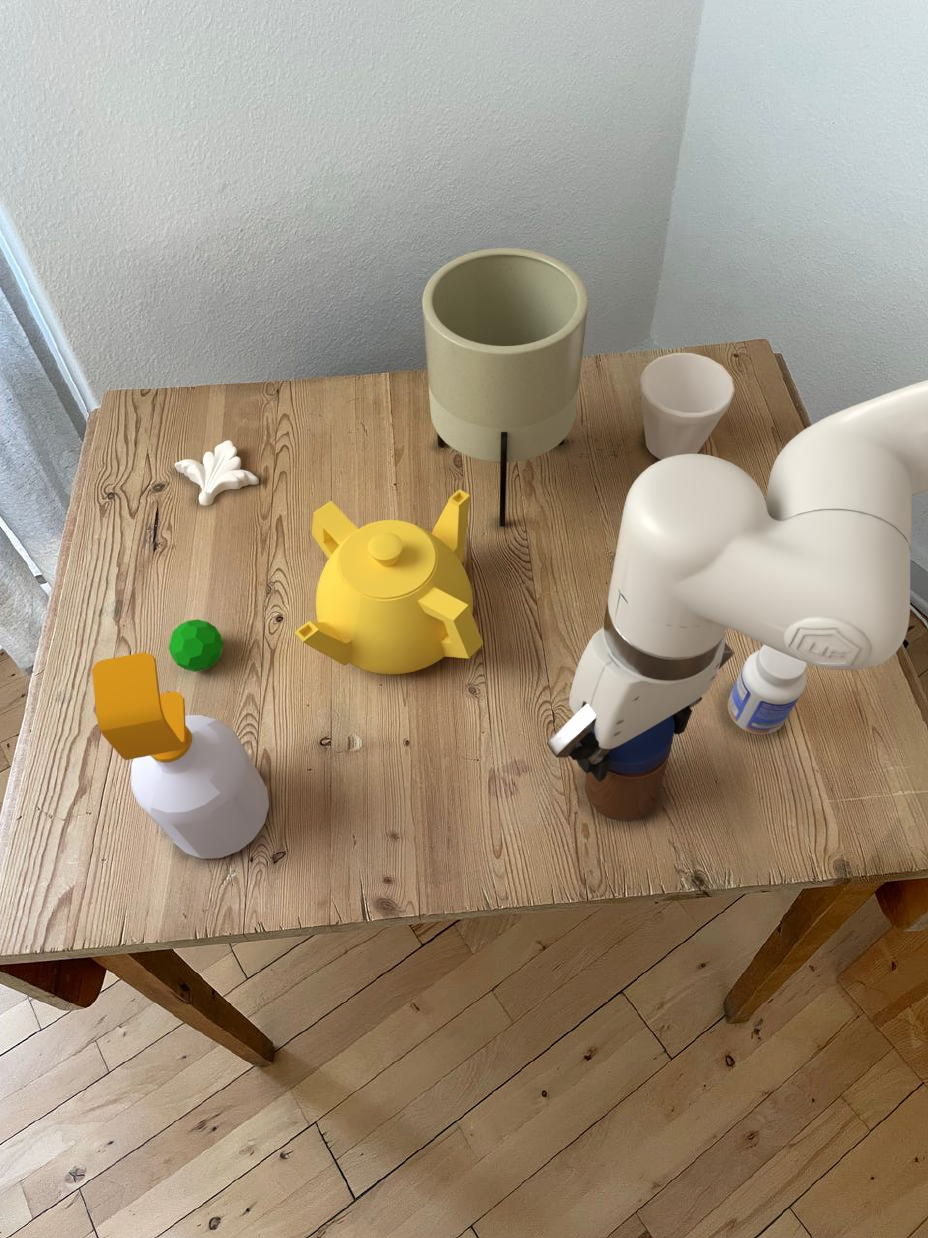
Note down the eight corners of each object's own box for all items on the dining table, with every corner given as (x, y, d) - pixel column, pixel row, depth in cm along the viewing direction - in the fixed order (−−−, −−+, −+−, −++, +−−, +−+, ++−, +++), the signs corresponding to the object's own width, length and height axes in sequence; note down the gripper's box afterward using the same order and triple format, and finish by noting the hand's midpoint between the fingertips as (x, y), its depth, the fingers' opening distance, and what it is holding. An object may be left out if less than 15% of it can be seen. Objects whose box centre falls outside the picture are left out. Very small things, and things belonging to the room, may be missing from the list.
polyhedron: (223, 631, 88) (210, 604, 84) (232, 671, 86) (219, 646, 82) (174, 645, 87) (159, 619, 83) (181, 685, 85) (166, 661, 81)
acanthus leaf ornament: (176, 471, 100) (171, 459, 99) (230, 445, 102) (226, 433, 101) (205, 511, 97) (200, 499, 95) (260, 483, 99) (256, 471, 97)
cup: (655, 402, 104) (668, 339, 97) (731, 436, 101) (751, 374, 93) (612, 453, 100) (622, 391, 92) (690, 490, 97) (708, 429, 89)
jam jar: (662, 759, 79) (677, 702, 70) (655, 827, 76) (669, 776, 67) (590, 746, 80) (595, 689, 72) (579, 813, 77) (584, 761, 68)
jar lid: (568, 748, 70) (567, 738, 68) (609, 682, 73) (609, 670, 71) (648, 789, 67) (649, 779, 66) (687, 718, 70) (689, 707, 68)
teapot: (319, 554, 93) (299, 478, 83) (475, 546, 93) (473, 469, 83) (311, 693, 84) (287, 627, 74) (484, 684, 84) (483, 617, 74)
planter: (600, 484, 97) (627, 311, 78) (477, 542, 94) (474, 374, 74) (528, 403, 105) (537, 226, 86) (411, 452, 101) (393, 279, 82)
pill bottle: (796, 708, 82) (830, 656, 74) (764, 747, 80) (795, 698, 72) (746, 674, 84) (774, 619, 76) (714, 712, 82) (739, 659, 74)
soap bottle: (265, 754, 81) (188, 607, 60) (274, 849, 76) (193, 724, 55) (167, 774, 80) (55, 631, 59) (169, 870, 75) (48, 752, 54)
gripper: (732, 526, 59) (686, 659, 74) (516, 641, 55) (513, 757, 70) (809, 604, 56) (744, 727, 71) (585, 733, 51) (566, 835, 66)
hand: (630, 741), depth 70 cm, fingers closed on jar lid, 7 cm apart
